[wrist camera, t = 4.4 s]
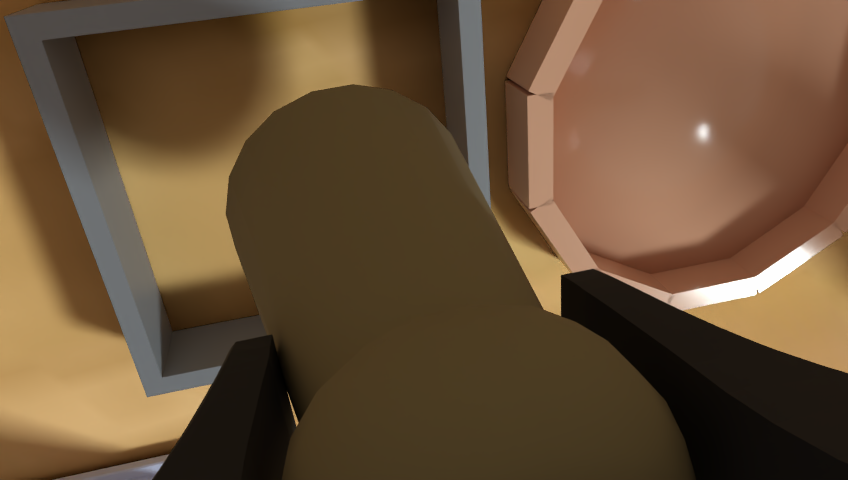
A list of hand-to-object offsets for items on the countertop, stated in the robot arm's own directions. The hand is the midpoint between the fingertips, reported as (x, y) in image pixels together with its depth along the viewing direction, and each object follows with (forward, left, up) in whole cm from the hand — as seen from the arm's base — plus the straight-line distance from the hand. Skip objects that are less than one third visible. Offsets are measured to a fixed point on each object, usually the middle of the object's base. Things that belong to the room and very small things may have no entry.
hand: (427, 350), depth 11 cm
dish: (+12, 0, -10) cm, 16 cm away
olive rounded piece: (-1, 0, -6) cm, 6 cm away
